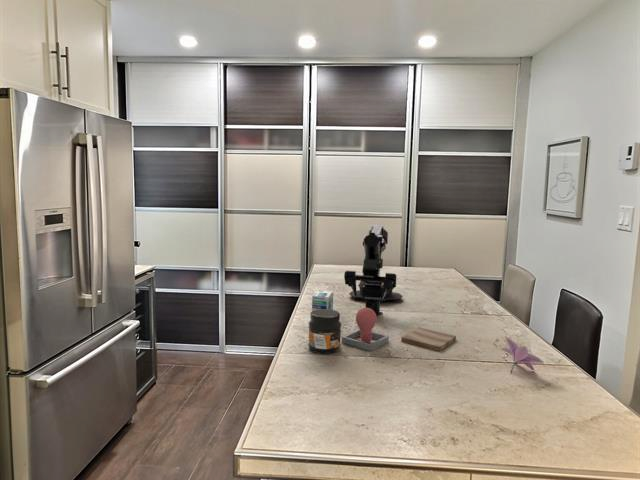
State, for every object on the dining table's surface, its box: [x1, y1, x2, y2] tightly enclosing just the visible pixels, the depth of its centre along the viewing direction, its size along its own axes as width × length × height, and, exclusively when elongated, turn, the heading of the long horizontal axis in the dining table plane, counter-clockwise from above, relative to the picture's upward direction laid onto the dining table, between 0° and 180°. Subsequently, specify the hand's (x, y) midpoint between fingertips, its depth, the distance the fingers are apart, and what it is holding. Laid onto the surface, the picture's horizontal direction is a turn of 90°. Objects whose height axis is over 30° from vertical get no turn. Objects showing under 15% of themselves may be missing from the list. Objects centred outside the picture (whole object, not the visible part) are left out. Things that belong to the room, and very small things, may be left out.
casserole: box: [348, 281, 403, 303], centre depth 209 cm, size 25×19×8 cm
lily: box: [500, 336, 545, 374], centre depth 131 cm, size 12×12×10 cm
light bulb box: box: [311, 289, 334, 312], centre depth 174 cm, size 11×7×11 cm, turn 168°
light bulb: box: [355, 307, 378, 343], centre depth 151 cm, size 7×7×12 cm
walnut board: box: [400, 327, 457, 352], centre depth 154 cm, size 14×14×2 cm
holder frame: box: [341, 328, 390, 352], centre depth 151 cm, size 12×12×2 cm
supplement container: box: [308, 309, 342, 355], centre depth 144 cm, size 10×10×12 cm
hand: (368, 299), depth 157 cm, fingers open, 9 cm apart
